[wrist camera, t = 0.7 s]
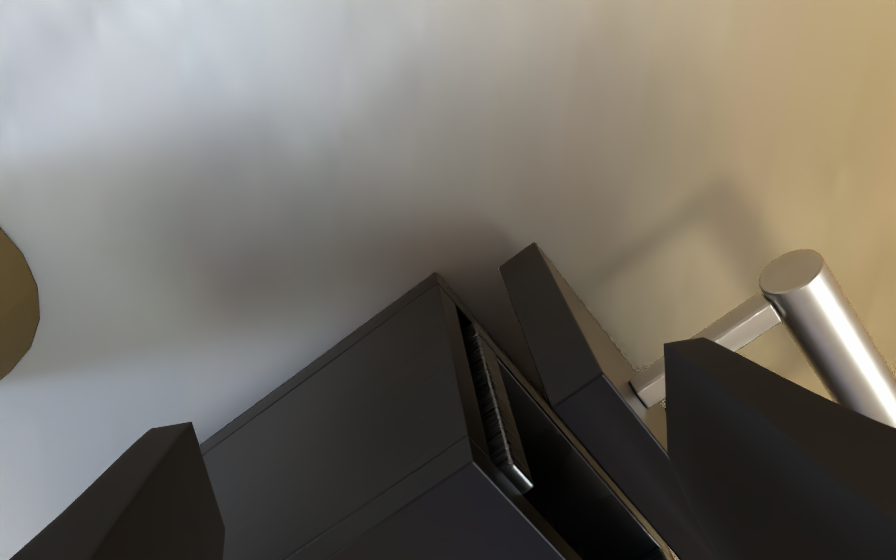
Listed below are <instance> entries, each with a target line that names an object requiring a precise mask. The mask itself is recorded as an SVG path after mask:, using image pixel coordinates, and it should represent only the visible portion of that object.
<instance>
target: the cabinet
mask: <svg viewBox="0 0 896 560" xmlns="http://www.w3.org/2000/svg"><path fill="white" fill-rule="evenodd" d="M474 321H475V322H477V323H478V325H479V326H480V327H481V328H482V329H483V330H484V332H485V333H486V334H487V335H488V336H489V338H490V339H491V340H492V341H493V342H494V343H495V345H496V346H497V347H498V348H499V349H500V350H501V352H502V353H503V354H504V355H505V356H506V357H507V359H508V360H509V361H510V362H511V363H512V365H513V366H514V367H515V368H516V369H517V370H518V372H519V373H520V374H521V375H522V376H523V377H524V379H525V380H526V381H527V382H528V383H529V384H530V386H531V387H532V388H533V389H534V390H535V392H536V393H537V394H538V395H539V396H540V397H541V399H542V400H543V401H544V402H545V403H546V404H547V406H548V407H549V408H550V409H551V407H550V406H549V404H548V403H547V402H546V401H545V400H544V399H543V397H542V396H541V395H540V394H539V393H538V392H537V390H536V389H535V388H534V387H533V386H532V384H531V383H530V382H529V381H528V380H527V379H526V377H525V376H524V375H523V374H522V373H521V372H520V370H519V369H518V368H517V367H516V366H515V364H514V363H513V362H512V361H511V360H510V359H509V357H508V356H507V355H506V354H505V353H504V352H503V350H502V349H501V348H500V347H499V346H498V345H497V343H496V342H495V341H494V340H493V339H492V337H491V336H490V335H489V334H488V333H487V332H486V330H485V329H484V328H483V327H482V326H481V325H480V323H479V322H478V321H477V320H476V319H475V317H474V316H473V315H472V314H471V313H470V312H469V310H468V309H467V308H466V307H465V306H464V305H463V303H462V302H461V301H460V300H459V299H458V297H457V296H456V295H455V294H454V293H453V292H452V290H451V289H450V288H449V287H448V286H447V285H446V283H445V282H444V281H443V280H442V279H441V278H440V276H439V275H438V274H437V273H433V274H432V275H431V276H429V277H428V278H427V279H425V280H424V281H423V282H421V283H420V284H419V285H417V286H416V287H414V288H413V289H412V290H410V291H409V292H408V293H406V294H405V295H404V296H402V297H401V298H399V299H398V300H397V301H395V302H394V303H393V304H391V305H390V306H389V307H387V308H386V309H385V310H383V311H382V312H380V313H379V314H378V315H376V316H375V317H374V318H372V319H371V320H370V321H368V322H367V323H366V324H364V325H363V326H361V327H360V328H359V329H357V330H356V331H355V332H353V333H352V334H351V335H349V336H348V337H346V338H345V339H344V340H342V341H341V342H340V343H338V344H337V345H336V346H334V347H333V348H332V349H330V350H329V351H327V352H326V353H325V354H323V355H322V356H321V357H319V358H318V359H317V360H315V361H314V362H312V363H311V364H310V365H308V366H307V367H306V368H304V369H303V370H302V371H300V372H299V373H298V374H296V375H295V376H293V377H292V378H291V379H289V380H288V381H287V382H285V383H284V384H283V385H281V386H280V387H279V388H277V389H276V390H274V391H273V392H272V393H270V394H269V395H268V396H266V397H265V398H264V399H262V400H261V401H259V402H258V403H257V404H255V405H254V406H253V407H251V408H250V409H249V410H247V411H246V412H245V413H243V414H242V415H240V416H239V417H238V418H236V419H235V420H234V421H232V422H231V423H230V424H228V425H227V426H225V427H224V428H223V429H221V430H220V431H219V432H217V433H216V434H215V435H213V436H212V437H211V438H209V439H208V440H206V441H205V442H204V443H202V444H201V445H200V446H199V447H200V450H201V453H202V456H203V460H204V463H205V466H206V469H207V472H208V475H209V479H210V482H211V485H212V488H213V491H214V494H215V498H216V501H217V504H218V507H219V510H220V513H221V517H222V520H223V523H224V526H225V540H224V552H223V560H582V559H581V558H580V556H579V555H578V554H577V553H576V552H575V551H574V550H573V549H572V548H571V547H570V546H569V545H568V544H567V542H566V541H565V540H564V539H563V538H562V537H561V536H560V535H559V534H558V533H557V532H556V531H555V530H554V528H553V527H552V526H551V525H550V524H549V523H548V522H547V521H546V520H545V519H544V518H543V517H542V515H541V514H540V513H539V512H538V511H537V510H536V509H535V508H534V507H533V506H532V505H531V504H530V503H529V501H528V500H527V499H526V498H525V497H524V496H523V495H522V494H521V493H520V492H519V491H518V490H517V489H516V487H515V486H514V485H513V484H512V483H511V482H510V481H509V480H508V479H507V478H506V477H505V476H504V474H503V473H502V472H501V471H500V470H499V469H498V468H497V467H496V466H495V465H494V464H493V463H492V462H491V460H490V455H489V450H488V446H487V441H486V437H485V433H484V428H483V424H482V420H481V415H480V411H479V407H478V402H477V398H476V394H475V389H474V385H473V381H472V376H471V372H470V367H469V363H468V359H467V354H466V350H465V346H464V341H463V337H462V333H461V330H462V329H464V328H465V327H467V326H468V325H469V324H471V323H472V322H474ZM551 410H552V409H551ZM552 411H553V410H552ZM553 413H554V414H555V415H556V413H555V412H554V411H553ZM556 416H557V415H556ZM557 417H558V416H557ZM558 419H559V420H560V421H561V422H562V420H561V419H560V418H559V417H558ZM562 423H563V422H562ZM563 424H564V423H563ZM564 426H565V427H566V428H567V429H568V427H567V426H566V425H565V424H564ZM568 430H569V429H568ZM569 431H570V430H569ZM570 433H571V434H572V435H573V436H574V434H573V433H572V432H571V431H570ZM574 437H575V436H574ZM575 438H576V437H575ZM576 440H577V441H578V442H579V440H578V439H577V438H576ZM579 443H580V442H579ZM580 444H581V443H580ZM581 446H582V447H583V448H584V449H585V447H584V446H583V445H582V444H581ZM585 450H586V449H585ZM586 451H587V450H586ZM587 453H588V454H589V455H590V456H591V454H590V453H589V452H588V451H587ZM591 457H592V456H591ZM592 458H593V457H592ZM593 460H594V461H595V462H596V460H595V459H594V458H593ZM596 463H597V462H596ZM597 464H598V463H597ZM598 465H599V464H598ZM599 467H600V468H601V469H602V467H601V466H600V465H599ZM602 470H603V469H602ZM603 471H604V470H603ZM604 472H605V471H604ZM605 474H606V475H607V476H608V474H607V473H606V472H605ZM608 477H609V476H608ZM609 478H610V477H609ZM610 480H611V481H612V482H613V483H614V481H613V480H612V479H611V478H610ZM614 484H615V483H614ZM615 485H616V484H615ZM616 487H617V488H618V489H619V487H618V486H617V485H616ZM619 490H620V489H619ZM620 491H621V490H620ZM621 492H622V491H621ZM622 494H623V495H624V496H625V494H624V493H623V492H622ZM625 497H626V496H625ZM626 498H627V497H626ZM627 499H628V498H627ZM628 501H629V502H630V503H631V501H630V500H629V499H628ZM631 504H632V503H631ZM632 505H633V504H632ZM633 507H634V508H635V509H636V507H635V506H634V505H633ZM636 510H637V509H636ZM637 511H638V510H637ZM638 512H639V511H638ZM639 514H640V515H641V516H642V514H641V513H640V512H639ZM642 517H643V516H642ZM643 518H644V517H643ZM644 519H645V518H644ZM645 521H646V522H647V523H648V521H647V520H646V519H645ZM648 524H649V523H648ZM649 525H650V524H649ZM650 526H651V525H650ZM651 528H652V529H653V530H654V528H653V527H652V526H651ZM654 531H655V530H654ZM655 532H656V531H655ZM656 534H657V535H658V536H659V534H658V533H657V532H656ZM659 537H660V536H659ZM660 538H661V537H660ZM661 539H662V538H661ZM662 541H663V542H664V543H665V541H664V540H663V539H662ZM665 546H666V548H667V550H668V552H669V554H670V556H671V559H672V560H674V558H673V555H672V553H671V551H670V549H669V547H668V545H667V544H666V543H665Z"/></svg>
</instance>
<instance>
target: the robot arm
mask: <svg viewBox="0 0 896 560" xmlns="http://www.w3.org/2000/svg"><path fill="white" fill-rule="evenodd" d="M664 364H665V395H666V426H667V454H668V457H669V459H670V462H671V464H672V467H673V469H674V472H675V474H676V477H677V479H678V482H679V484H680V486H681V489H682V491H683V493H684V496H685V498H686V500H687V502H688V505H689V507H690V509H691V511H692V513H693V515H694V516H695V518H696V520H697V522H698V523H699V525H700V527H701V529H702V530H703V532H704V534H705V535H706V537H707V539H708V541H709V542H710V544H711V546H712V547H713V549H714V551H715V553H716V554H717V556H718V558H719V559H720V560H896V428H894V427H891V426H889V425H886V424H884V423H881V422H879V421H876V420H874V419H871V418H869V417H867V416H864V415H862V414H860V413H858V412H855V411H853V410H851V409H848V408H846V407H844V406H841V405H839V404H837V403H835V402H833V401H830V400H828V399H826V398H824V397H822V396H820V395H818V394H815V393H813V392H811V391H809V390H807V389H805V388H803V387H801V386H799V385H797V384H795V383H793V382H791V381H789V380H787V379H785V378H783V377H781V376H779V375H777V374H776V373H774V372H772V371H770V370H768V369H766V368H764V367H762V366H760V365H758V364H756V363H754V362H753V361H751V360H749V359H747V358H745V357H743V356H741V355H739V354H737V353H735V352H733V351H732V350H730V349H728V348H726V347H724V346H722V345H720V344H718V343H716V342H713V341H711V340H709V339H707V338H704V337H701V338H695V339H689V340H683V341H677V342H671V343H665V344H664ZM224 540H225V526H224V523H223V520H222V517H221V513H220V510H219V507H218V504H217V501H216V498H215V494H214V491H213V488H212V485H211V482H210V479H209V475H208V472H207V469H206V466H205V463H204V460H203V456H202V453H201V450H200V447H199V444H198V441H197V437H196V434H195V431H194V428H193V425H192V422H188V423H182V424H176V425H170V426H164V427H158V428H152V429H150V430H149V431H148V432H146V433H145V434H144V435H143V436H142V437H141V438H139V439H138V440H137V441H136V442H135V443H134V444H133V445H132V446H131V447H130V448H129V449H128V450H127V451H126V452H124V453H123V454H122V455H121V456H120V457H119V458H118V459H117V460H116V461H115V462H114V463H113V464H112V465H111V466H110V467H109V468H108V469H107V470H106V471H105V472H104V473H103V474H102V475H101V476H100V477H99V478H98V479H97V480H96V481H95V482H94V483H93V484H92V485H91V486H89V487H88V488H87V489H86V490H85V491H84V492H83V493H82V494H81V495H80V496H79V497H78V498H77V499H76V500H75V501H74V502H73V503H72V504H71V505H70V506H69V507H68V508H67V509H66V510H64V511H63V512H62V513H61V514H60V515H59V516H58V517H57V518H56V519H55V520H53V521H52V522H51V523H50V524H49V525H48V526H47V527H46V528H44V529H43V530H42V531H41V532H40V533H39V534H38V535H37V536H35V537H34V538H33V539H32V540H31V541H30V542H29V543H28V544H26V545H25V546H24V547H23V548H22V549H21V550H20V551H18V552H17V553H16V554H15V555H14V556H13V557H12V558H11V559H9V560H223V552H224Z"/></svg>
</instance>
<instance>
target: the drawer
mask: <svg viewBox="0 0 896 560" xmlns="http://www.w3.org/2000/svg"><path fill="white" fill-rule="evenodd" d="M499 271H500V274H501V277H502V279H503V282H504V284H505V287H506V290H507V292H508V295H509V298H510V300H511V303H512V306H513V308H514V311H515V314H516V316H517V319H518V322H519V324H520V327H521V329H522V332H523V335H524V337H525V340H526V343H527V345H528V348H529V351H530V353H531V356H532V359H533V361H534V364H535V367H536V369H537V372H538V375H539V377H540V380H541V382H542V385H543V388H544V390H545V393H546V396H547V398H548V401H549V404H550V406H551V409H552V410H553V411H554V412H555V413H556V415H557V416H558V417H559V418H560V419H561V420H562V422H563V423H564V424H565V425H566V426H567V427H568V429H569V430H570V431H571V432H572V433H573V434H574V436H575V437H576V438H577V439H578V440H579V442H580V443H581V444H582V445H583V446H584V447H585V449H586V450H587V451H588V452H589V453H590V454H591V456H592V457H593V458H594V459H595V460H596V462H597V463H598V464H599V465H600V466H601V467H602V469H603V470H604V471H605V472H606V473H607V474H608V476H609V477H610V478H611V479H612V480H613V481H614V483H615V484H616V485H617V486H618V487H619V489H620V490H621V491H622V492H623V493H624V494H625V496H626V497H627V498H628V499H629V500H630V501H631V503H632V504H633V505H634V506H635V507H636V509H637V510H638V511H639V512H640V513H641V514H642V516H643V517H644V518H645V519H646V520H647V521H648V523H649V524H650V525H651V526H652V527H653V528H654V530H655V531H656V532H657V533H658V534H659V536H660V537H661V538H662V539H663V540H664V541H665V543H666V544H667V545H668V546H669V547H670V548H671V550H672V551H673V552H674V553H675V554H676V556H677V557H678V558H679V559H680V560H720V559H719V558H718V556H717V554H716V553H715V551H714V549H713V547H712V546H711V544H710V542H709V541H708V539H707V537H706V535H705V534H704V532H703V530H702V529H701V527H700V525H699V523H698V522H697V520H696V518H695V516H694V515H693V513H692V511H691V509H690V507H689V505H688V502H687V500H686V498H685V496H684V493H683V491H682V489H681V486H680V484H679V482H678V479H677V477H676V474H675V472H674V469H673V467H672V464H671V462H670V459H669V457H668V454H667V426H666V410H665V409H664V408H663V406H662V405H661V404H660V403H659V402H660V401H662V400H663V399H665V398H666V395H665V364H664V356H663V357H662V358H660V359H659V360H657V361H656V362H654V363H653V364H651V365H650V366H648V367H647V368H645V369H644V370H642V371H641V372H639V373H638V374H637V373H636V371H635V370H634V369H633V368H632V366H631V365H630V364H629V362H628V361H627V360H626V359H625V357H624V356H623V355H622V353H621V352H620V351H619V349H618V348H617V347H616V346H615V344H614V343H613V342H612V340H611V339H610V338H609V337H608V335H607V334H606V333H605V331H604V330H603V329H602V327H601V326H600V325H599V324H598V322H597V321H596V320H595V318H594V317H593V316H592V315H591V313H590V312H589V311H588V309H587V308H586V307H585V305H584V304H583V303H582V302H581V300H580V299H579V298H578V296H577V295H576V294H575V293H574V291H573V290H572V289H571V287H570V286H569V285H568V283H567V282H566V281H565V280H564V278H563V277H562V276H561V274H560V273H559V272H558V271H557V269H556V268H555V267H554V265H553V264H552V263H551V261H550V260H549V259H548V258H547V256H546V255H545V254H544V252H543V251H542V250H541V249H540V247H539V246H538V245H537V243H535V242H534V243H532V244H531V245H529V246H528V247H526V248H525V249H524V250H522V251H521V252H519V253H518V254H517V255H515V256H514V257H513V258H511V259H510V260H508V261H507V262H506V263H504V264H503V265H502V266H500V267H499ZM759 286H760V289H761V291H762V292H763V294H764V295H765V296H764V295H763V294H761V293H757V294H756V295H754V296H753V297H751V298H750V299H748V300H747V301H745V302H744V303H742V304H741V305H739V306H738V307H736V308H735V309H733V310H732V311H730V312H729V313H727V314H726V315H724V316H723V317H721V318H720V319H718V320H717V321H715V322H714V323H712V324H711V325H710V326H708V327H707V328H705V329H704V330H702V331H701V332H699V333H698V334H696V335H695V336H693V337H692V338H690V339H695V338H701V337H704V338H707V339H709V340H711V341H713V342H716V343H718V344H720V345H722V346H724V347H726V348H728V349H730V350H732V351H733V352H736V351H738V350H739V349H741V348H742V347H744V346H745V345H747V344H748V343H750V342H751V341H753V340H754V339H756V338H757V337H759V336H760V335H762V334H763V333H765V332H766V331H768V330H769V329H771V328H772V327H774V326H775V325H777V324H778V323H780V322H781V321H782V323H783V324H784V326H785V327H786V329H787V330H788V332H789V334H790V335H791V337H792V338H793V340H794V341H795V343H796V344H797V346H798V347H799V349H800V350H801V352H802V353H803V355H804V357H805V358H806V360H807V361H808V363H809V364H810V366H811V367H812V369H813V370H814V372H815V373H816V375H817V377H818V378H819V380H820V381H821V383H822V384H823V386H824V387H825V389H826V390H827V392H828V393H829V395H830V396H831V398H832V400H833V401H834V402H835V403H837V404H839V405H841V406H844V407H846V408H848V409H851V410H853V411H855V412H858V413H860V414H862V415H864V416H867V417H869V418H871V419H874V420H876V421H879V422H881V423H884V424H886V425H889V426H891V427H894V428H896V379H895V377H894V375H893V374H892V372H891V370H890V369H889V367H888V365H887V364H886V362H885V360H884V359H883V357H882V355H881V354H880V352H879V350H878V349H877V347H876V345H875V344H874V342H873V340H872V339H871V337H870V335H869V334H868V332H867V330H866V329H865V327H864V325H863V324H862V322H861V320H860V319H859V317H858V315H857V314H856V312H855V310H854V309H853V307H852V305H851V304H850V302H849V300H848V299H847V297H846V295H845V294H844V292H843V290H842V289H841V287H840V285H839V284H838V282H837V280H836V279H835V277H834V275H833V274H832V272H831V270H830V269H829V267H828V265H827V264H826V262H825V260H824V259H823V257H822V256H821V255H820V254H819V253H818V252H816V251H814V250H810V249H800V250H795V251H791V252H788V253H786V254H784V255H782V256H780V257H778V258H776V259H775V260H774V261H772V262H771V263H770V264H769V265H768V266H767V267H766V268H765V269H764V270H763V272H762V274H761V276H760V279H759ZM461 333H462V337H463V341H464V346H465V350H466V354H467V359H468V363H469V367H470V372H471V376H472V381H473V385H474V389H475V394H476V398H477V402H478V407H479V411H480V415H481V420H482V424H483V428H484V433H485V437H486V441H487V446H488V450H489V455H490V460H491V462H492V463H493V464H494V465H495V466H496V467H497V468H498V469H499V470H500V471H501V472H502V473H503V474H504V476H505V477H506V478H507V479H508V480H509V481H510V482H511V483H512V484H513V485H514V486H515V487H516V489H517V490H518V491H519V492H520V493H521V494H522V495H523V496H524V497H525V498H526V499H527V500H528V501H529V503H530V504H531V505H532V506H533V507H534V508H535V509H536V510H537V511H538V512H539V513H540V514H541V515H542V517H543V518H544V519H545V520H546V521H547V522H548V523H549V524H550V525H551V526H552V527H553V528H554V530H555V531H556V532H557V533H558V534H559V535H560V536H561V537H562V538H563V539H564V540H565V541H566V542H567V544H568V545H569V546H570V547H571V548H572V549H573V550H574V551H575V552H576V553H577V554H578V555H579V556H580V558H581V559H582V560H672V559H671V556H670V554H669V552H668V550H667V548H666V546H665V543H664V542H663V541H662V539H661V538H660V537H659V536H658V535H657V534H656V532H655V531H654V530H653V529H652V528H651V526H650V525H649V524H648V523H647V522H646V521H645V519H644V518H643V517H642V516H641V515H640V514H639V512H638V511H637V510H636V509H635V508H634V507H633V505H632V504H631V503H630V502H629V501H628V499H627V498H626V497H625V496H624V495H623V494H622V492H621V491H620V490H619V489H618V488H617V487H616V485H615V484H614V483H613V482H612V481H611V480H610V478H609V477H608V476H607V475H606V474H605V472H604V471H603V470H602V469H601V468H600V467H599V465H598V464H597V463H596V462H595V461H594V460H593V458H592V457H591V456H590V455H589V454H588V453H587V451H586V450H585V449H584V448H583V447H582V446H581V444H580V443H579V442H578V441H577V440H576V438H575V437H574V436H573V435H572V434H571V433H570V431H569V430H568V429H567V428H566V427H565V426H564V424H563V423H562V422H561V421H560V420H559V419H558V417H557V416H556V415H555V414H554V413H553V411H552V410H551V409H550V408H549V407H548V406H547V404H546V403H545V402H544V401H543V400H542V399H541V397H540V396H539V395H538V394H537V393H536V392H535V390H534V389H533V388H532V387H531V386H530V384H529V383H528V382H527V381H526V380H525V379H524V377H523V376H522V375H521V374H520V373H519V372H518V370H517V369H516V368H515V367H514V366H513V365H512V363H511V362H510V361H509V360H508V359H507V357H506V356H505V355H504V354H503V353H502V352H501V350H500V349H499V348H498V347H497V346H496V345H495V343H494V342H493V341H492V340H491V339H490V338H489V336H488V335H487V334H486V333H485V332H484V330H483V329H482V328H481V327H480V326H479V325H478V323H477V322H475V321H474V322H472V323H471V324H469V325H468V326H467V327H465V328H464V329H462V330H461Z"/></svg>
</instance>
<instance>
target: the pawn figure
mask: <svg viewBox="0 0 896 560" xmlns="http://www.w3.org/2000/svg"><path fill="white" fill-rule="evenodd" d="M38 322H39V307H38V294H37V286H36V283H35V281H34V279H33V277H32V274H31V272H30V270H29V268H28V265H27V263H26V261H25V259H24V256H23V254H22V253H21V252H20V251H19V249H18V248H17V247H16V246H15V245H14V244H13V242H12V241H11V240H10V239H9V238H8V237H7V235H6V234H5V233H4V232H3V231H2V230H1V228H0V380H1V379H2V378H3V377H5V376H6V375H7V374H8V373H9V372H11V370H12V369H13V368H14V367H15V366H16V364H17V363H18V362H19V361H20V360H21V358H22V357H23V356H24V355H25V354H26V353H27V351H28V350H29V349H30V347H31V344H32V341H33V338H34V335H35V332H36V328H37V325H38Z"/></svg>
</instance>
